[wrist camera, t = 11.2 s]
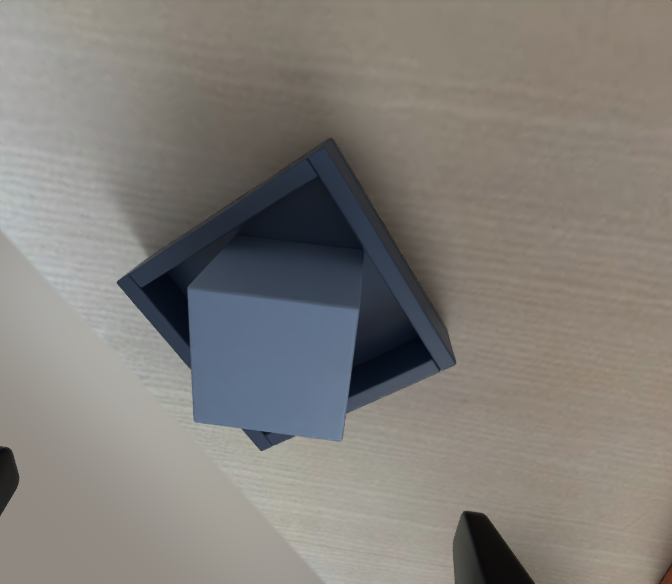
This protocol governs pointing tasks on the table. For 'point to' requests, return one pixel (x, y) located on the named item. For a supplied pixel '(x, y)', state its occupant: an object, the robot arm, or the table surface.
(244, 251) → the block
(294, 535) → the table surface
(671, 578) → the terracotta tray
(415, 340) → the slate tray
